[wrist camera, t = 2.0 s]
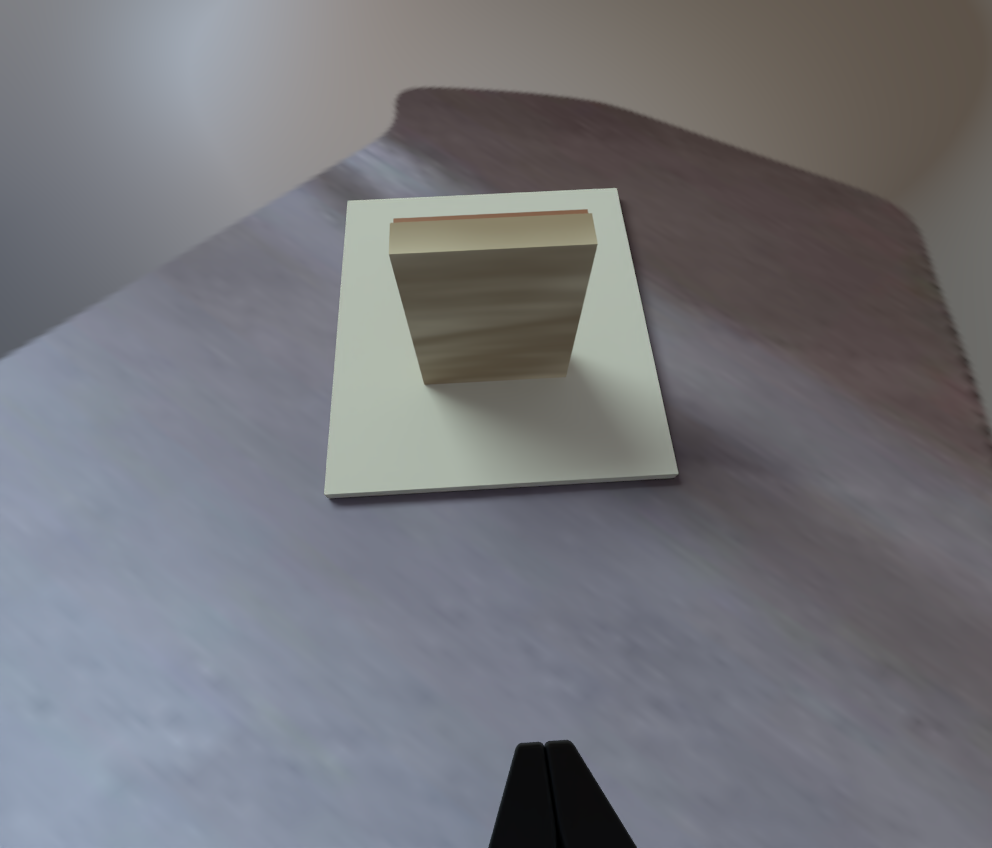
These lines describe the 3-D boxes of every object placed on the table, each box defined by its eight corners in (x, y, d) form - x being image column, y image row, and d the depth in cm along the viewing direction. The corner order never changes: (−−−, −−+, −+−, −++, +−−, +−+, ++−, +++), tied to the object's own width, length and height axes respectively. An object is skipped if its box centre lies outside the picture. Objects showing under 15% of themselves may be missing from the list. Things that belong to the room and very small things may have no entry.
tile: (565, 377, 26) (597, 244, 17) (424, 384, 25) (388, 254, 17) (561, 347, 26) (591, 206, 18) (424, 355, 26) (389, 216, 18)
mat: (674, 478, 24) (678, 473, 23) (328, 498, 24) (324, 494, 23) (614, 196, 31) (616, 188, 31) (350, 208, 31) (347, 200, 31)
